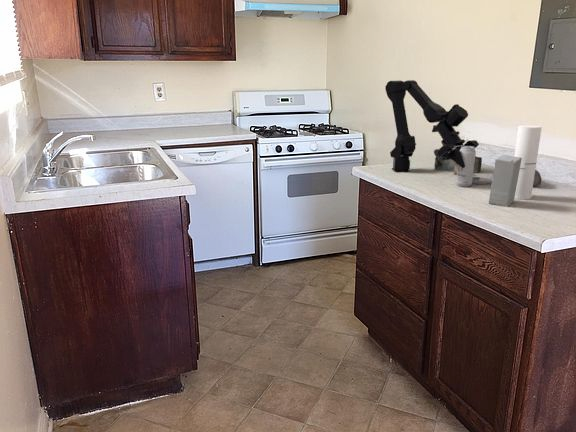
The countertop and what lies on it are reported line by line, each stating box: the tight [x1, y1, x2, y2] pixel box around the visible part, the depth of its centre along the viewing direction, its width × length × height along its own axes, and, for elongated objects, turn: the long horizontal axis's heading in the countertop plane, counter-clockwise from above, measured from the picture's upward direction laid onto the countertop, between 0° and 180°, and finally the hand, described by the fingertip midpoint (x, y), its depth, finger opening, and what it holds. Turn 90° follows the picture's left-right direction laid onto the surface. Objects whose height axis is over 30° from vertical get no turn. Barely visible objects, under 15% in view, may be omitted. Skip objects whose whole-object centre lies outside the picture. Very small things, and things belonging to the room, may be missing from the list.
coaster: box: [471, 176, 492, 186], centre depth 195 cm, size 11×11×1 cm
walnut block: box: [453, 165, 458, 176], centre depth 206 cm, size 4×4×4 cm
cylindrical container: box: [513, 124, 542, 201], centre depth 169 cm, size 7×7×25 cm
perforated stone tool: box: [533, 168, 542, 188], centre depth 189 cm, size 15×5×7 cm, turn 2°
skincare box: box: [488, 154, 522, 207], centre depth 163 cm, size 8×7×16 cm
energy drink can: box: [455, 146, 477, 188], centre depth 187 cm, size 6×6×15 cm
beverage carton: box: [433, 155, 483, 174], centre depth 216 cm, size 8×19×7 cm, turn 62°
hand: (469, 166), depth 186 cm, fingers closed on energy drink can, 6 cm apart
